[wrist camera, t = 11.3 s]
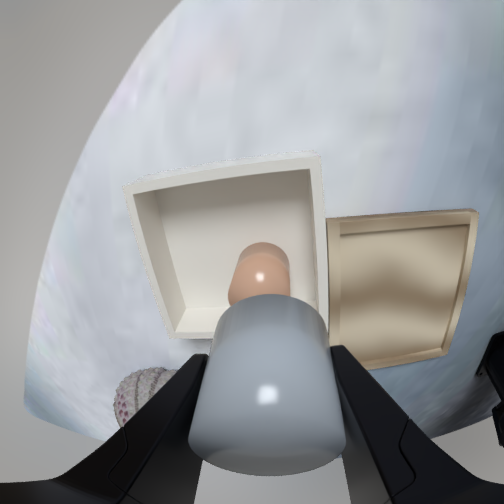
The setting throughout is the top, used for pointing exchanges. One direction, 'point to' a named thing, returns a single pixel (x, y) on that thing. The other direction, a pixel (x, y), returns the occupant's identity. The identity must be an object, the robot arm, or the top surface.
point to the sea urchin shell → (138, 391)
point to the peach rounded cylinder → (260, 272)
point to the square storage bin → (228, 232)
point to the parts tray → (398, 283)
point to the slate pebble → (269, 391)
